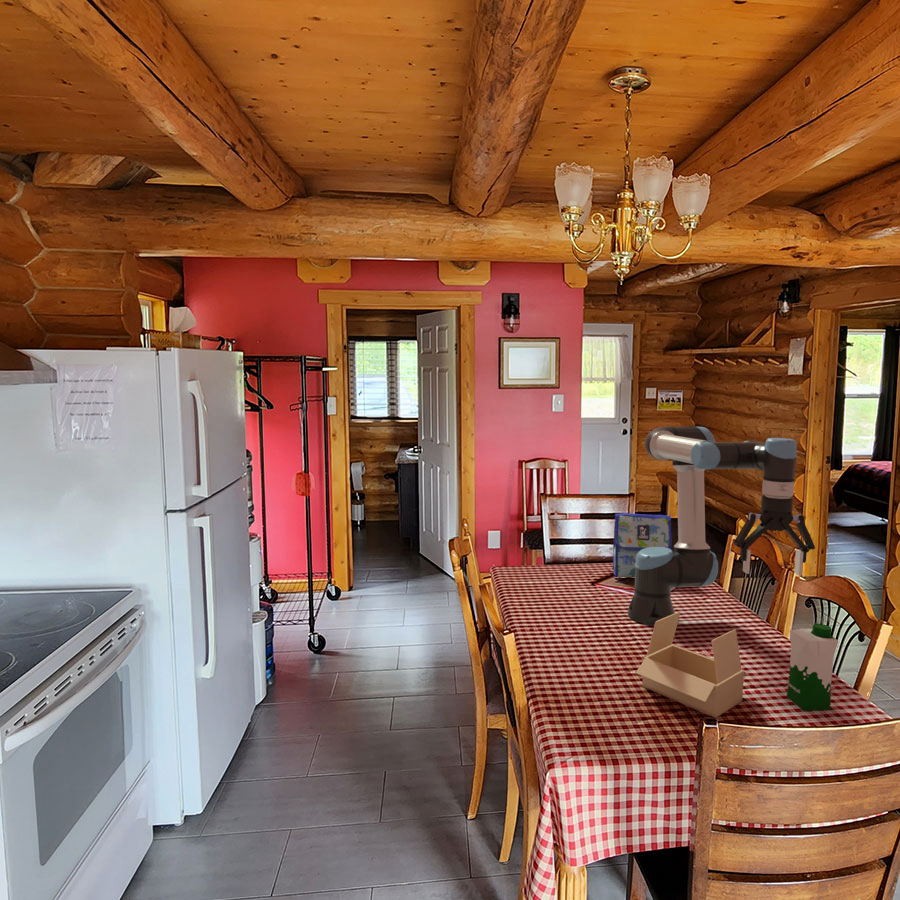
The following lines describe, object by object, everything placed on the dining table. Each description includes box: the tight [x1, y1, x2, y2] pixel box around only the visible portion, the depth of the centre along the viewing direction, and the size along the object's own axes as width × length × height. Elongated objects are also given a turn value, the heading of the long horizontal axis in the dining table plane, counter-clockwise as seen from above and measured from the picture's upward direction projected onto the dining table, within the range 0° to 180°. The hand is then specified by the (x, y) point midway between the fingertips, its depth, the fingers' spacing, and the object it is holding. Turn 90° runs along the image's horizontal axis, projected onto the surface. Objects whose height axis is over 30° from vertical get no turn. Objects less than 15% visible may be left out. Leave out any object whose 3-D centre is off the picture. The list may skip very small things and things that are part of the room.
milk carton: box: [786, 623, 839, 712], centre depth 162 cm, size 9×9×20 cm
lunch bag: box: [612, 512, 673, 578], centre depth 263 cm, size 22×17×26 cm
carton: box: [635, 644, 750, 719], centre depth 167 cm, size 20×22×8 cm
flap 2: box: [711, 628, 742, 683], centre depth 159 cm, size 1×11×10 cm, turn 130°
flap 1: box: [646, 611, 681, 656], centre depth 172 cm, size 1×11×10 cm, turn 128°
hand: (771, 573), depth 176 cm, fingers open, 13 cm apart
